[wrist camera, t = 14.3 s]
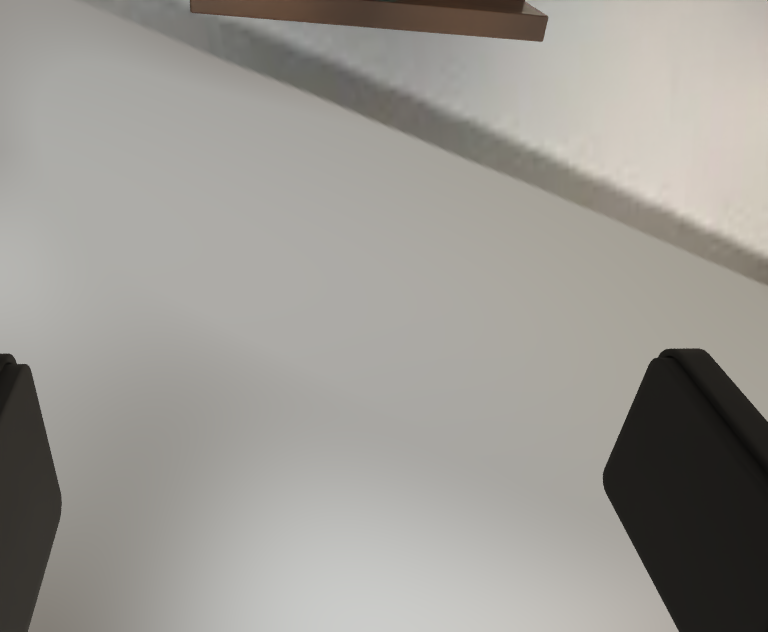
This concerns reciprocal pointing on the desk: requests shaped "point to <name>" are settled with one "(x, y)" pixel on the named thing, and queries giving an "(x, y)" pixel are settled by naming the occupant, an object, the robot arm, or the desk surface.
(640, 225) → the desk surface
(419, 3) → the shelf
